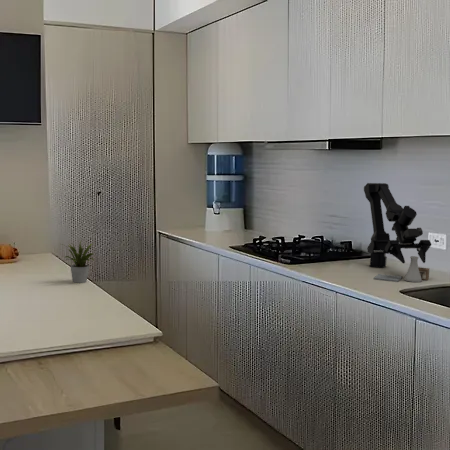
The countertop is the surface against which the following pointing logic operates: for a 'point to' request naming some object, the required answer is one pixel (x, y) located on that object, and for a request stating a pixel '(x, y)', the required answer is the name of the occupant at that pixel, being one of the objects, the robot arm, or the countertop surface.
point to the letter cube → (424, 273)
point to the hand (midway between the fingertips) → (414, 262)
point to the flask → (413, 271)
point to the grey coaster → (387, 277)
